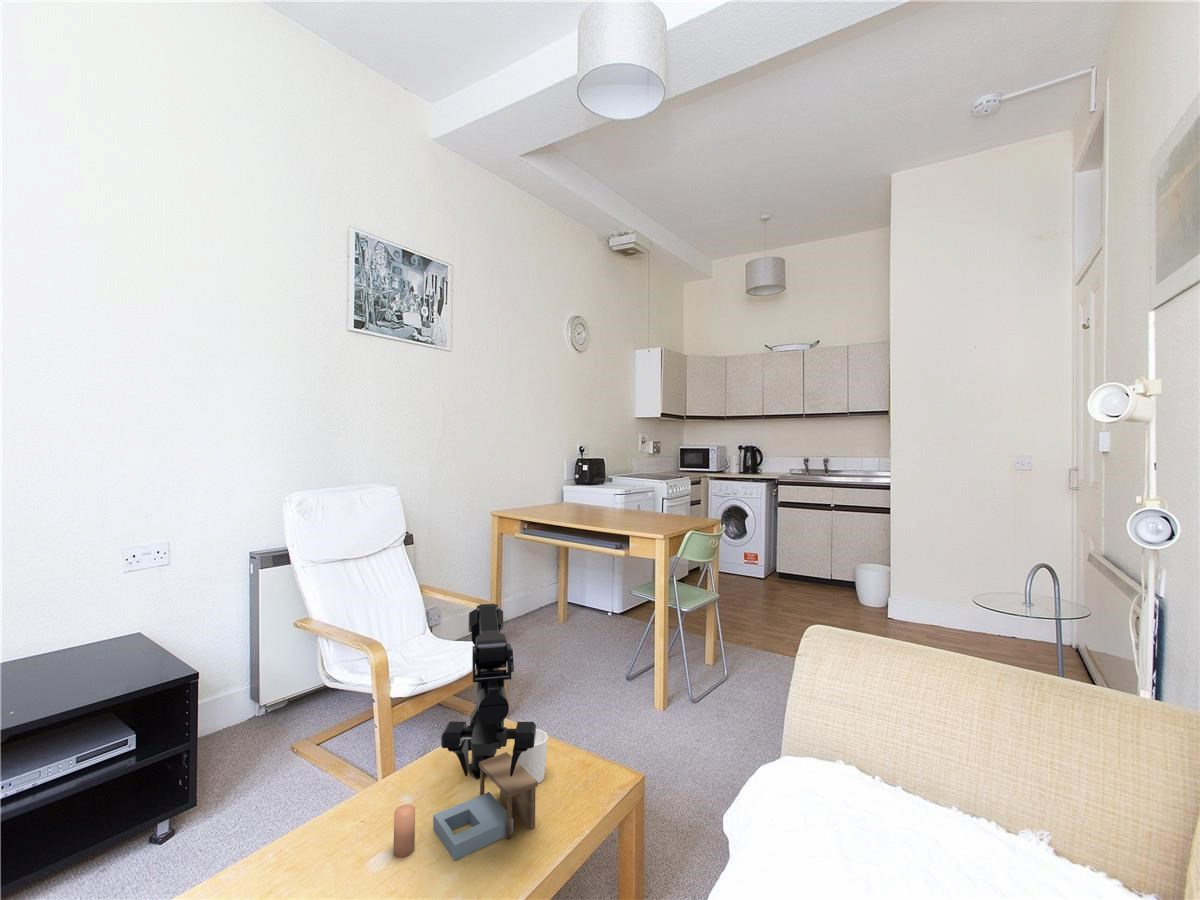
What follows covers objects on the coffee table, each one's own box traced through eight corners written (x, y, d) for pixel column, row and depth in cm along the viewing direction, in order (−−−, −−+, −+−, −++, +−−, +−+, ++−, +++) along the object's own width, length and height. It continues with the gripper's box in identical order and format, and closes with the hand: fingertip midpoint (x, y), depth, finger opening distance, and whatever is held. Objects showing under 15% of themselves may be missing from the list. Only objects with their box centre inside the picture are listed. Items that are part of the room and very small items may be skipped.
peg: (390, 849, 110) (391, 809, 110) (410, 840, 112) (411, 801, 112) (397, 861, 107) (397, 820, 107) (417, 852, 109) (418, 812, 109)
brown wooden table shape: (478, 805, 124) (478, 762, 124) (505, 793, 128) (506, 751, 128) (507, 840, 113) (508, 793, 113) (536, 826, 117) (537, 781, 117)
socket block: (433, 828, 116) (433, 814, 116) (489, 804, 124) (489, 791, 124) (454, 860, 107) (454, 845, 107) (513, 832, 115) (513, 818, 115)
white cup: (553, 777, 135) (554, 737, 135) (528, 791, 129) (529, 749, 129) (532, 764, 140) (533, 725, 140) (508, 777, 134) (508, 737, 134)
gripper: (434, 719, 104) (432, 800, 104) (532, 720, 105) (530, 800, 105) (448, 693, 115) (447, 766, 116) (536, 693, 116) (535, 766, 116)
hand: (489, 775), depth 113 cm, fingers open, 9 cm apart
